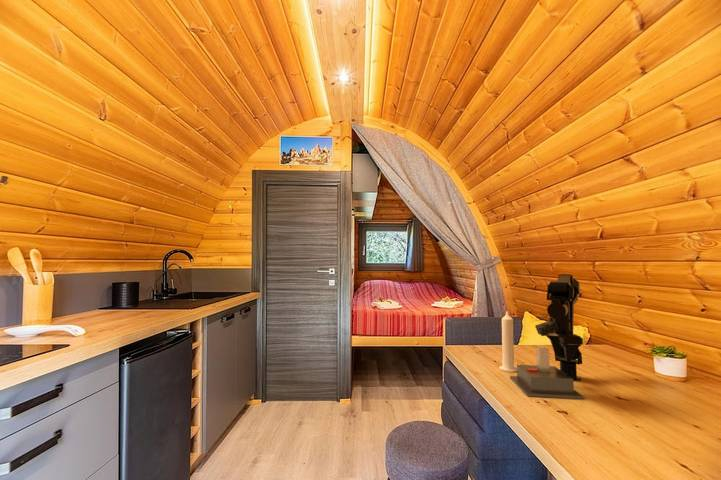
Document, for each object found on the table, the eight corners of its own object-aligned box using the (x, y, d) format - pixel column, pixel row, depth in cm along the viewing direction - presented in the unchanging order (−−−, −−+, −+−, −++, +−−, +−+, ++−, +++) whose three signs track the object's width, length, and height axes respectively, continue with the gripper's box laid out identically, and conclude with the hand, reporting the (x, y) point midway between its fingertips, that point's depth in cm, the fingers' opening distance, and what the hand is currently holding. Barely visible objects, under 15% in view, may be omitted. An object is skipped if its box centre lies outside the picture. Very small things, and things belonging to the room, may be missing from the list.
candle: (514, 367, 147) (512, 309, 149) (520, 372, 140) (518, 312, 142) (497, 366, 148) (496, 309, 149) (502, 371, 141) (501, 311, 142)
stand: (510, 378, 133) (509, 361, 133) (558, 380, 131) (557, 363, 131) (527, 396, 115) (527, 376, 115) (583, 399, 113) (582, 379, 113)
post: (536, 371, 125) (536, 346, 126) (546, 371, 125) (545, 347, 125) (540, 374, 122) (539, 349, 122) (550, 374, 121) (549, 349, 122)
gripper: (528, 311, 134) (529, 350, 133) (548, 319, 116) (549, 365, 115) (558, 311, 133) (559, 351, 132) (583, 320, 114) (584, 366, 113)
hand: (562, 358), depth 123 cm, fingers open, 9 cm apart
